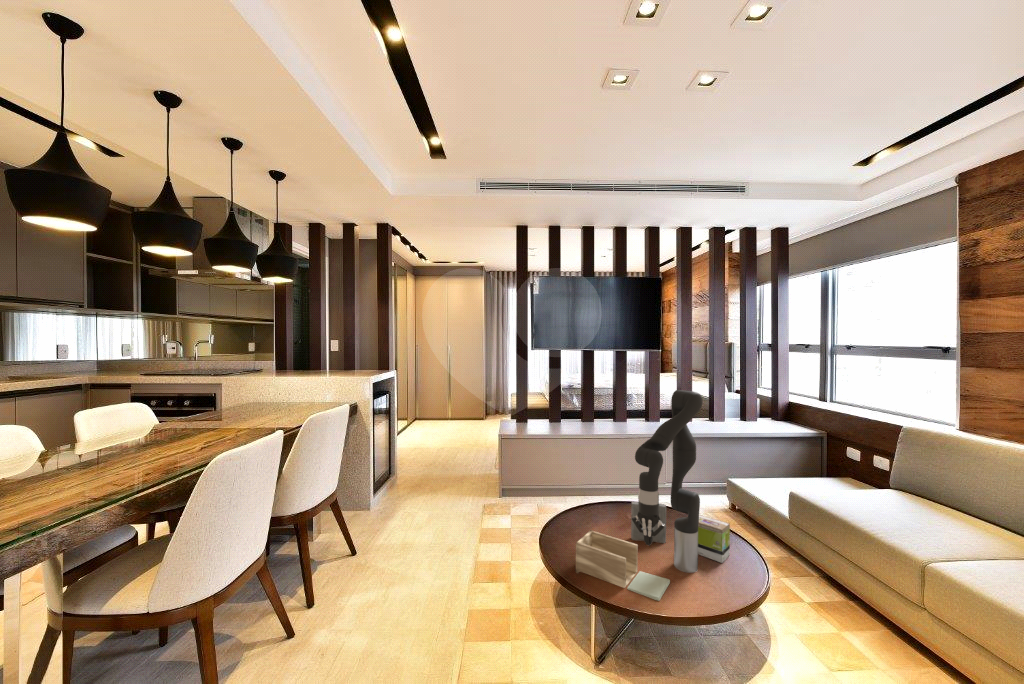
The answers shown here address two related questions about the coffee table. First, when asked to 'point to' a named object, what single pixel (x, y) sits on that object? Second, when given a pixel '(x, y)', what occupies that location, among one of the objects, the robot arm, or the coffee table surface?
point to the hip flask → (662, 534)
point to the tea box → (713, 538)
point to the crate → (607, 558)
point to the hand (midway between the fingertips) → (648, 544)
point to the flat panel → (649, 585)
